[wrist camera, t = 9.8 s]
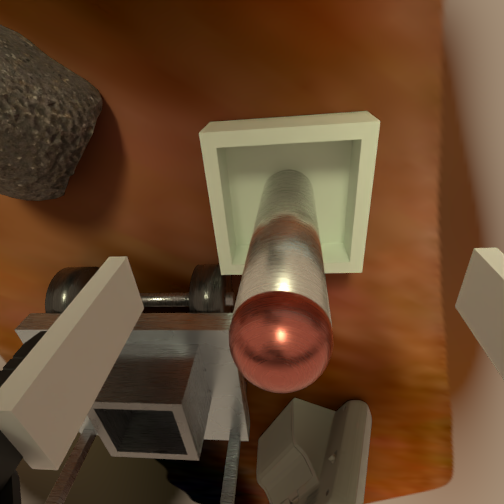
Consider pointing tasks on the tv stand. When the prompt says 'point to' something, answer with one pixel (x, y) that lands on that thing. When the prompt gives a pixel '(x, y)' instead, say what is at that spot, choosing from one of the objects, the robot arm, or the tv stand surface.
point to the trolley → (161, 378)
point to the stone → (40, 120)
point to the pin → (283, 292)
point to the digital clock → (315, 454)
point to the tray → (300, 159)
